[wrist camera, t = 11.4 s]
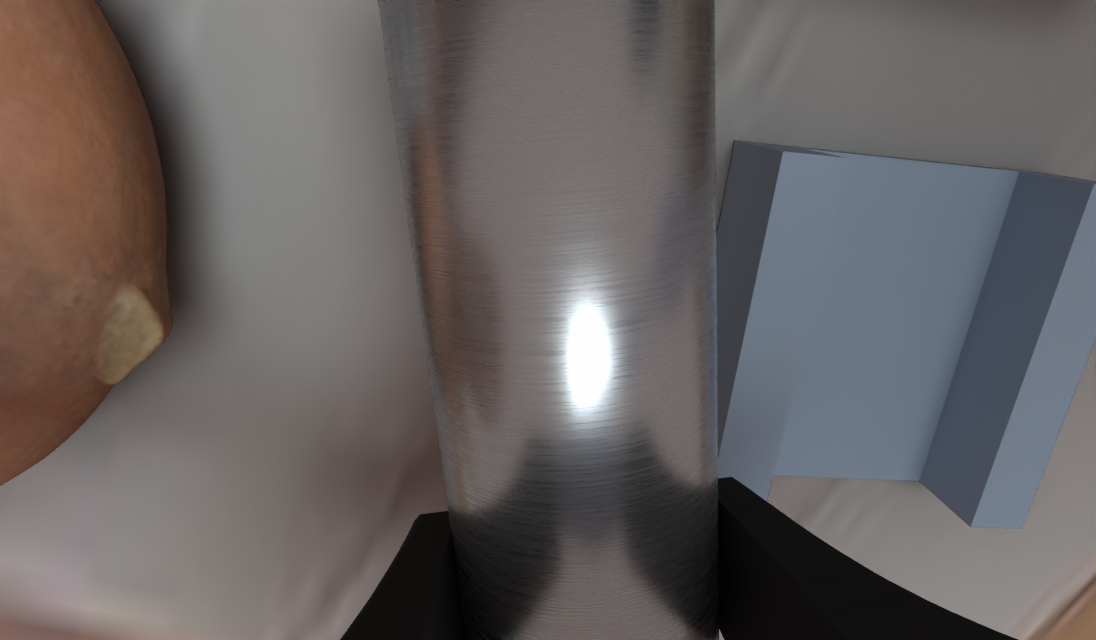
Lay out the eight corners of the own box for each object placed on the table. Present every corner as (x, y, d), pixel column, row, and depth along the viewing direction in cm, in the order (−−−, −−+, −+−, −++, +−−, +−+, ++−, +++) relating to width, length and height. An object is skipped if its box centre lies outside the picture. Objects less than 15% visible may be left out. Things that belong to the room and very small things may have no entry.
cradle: (1053, 174, 18) (1152, 189, 15) (952, 472, 21) (1021, 528, 18) (734, 140, 17) (783, 151, 14) (674, 460, 20) (705, 519, 17)
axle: (666, -92, 11) (770, -226, 7) (686, 701, 15) (754, 918, 11) (391, -73, 11) (317, -196, 6) (493, 722, 15) (489, 952, 11)
